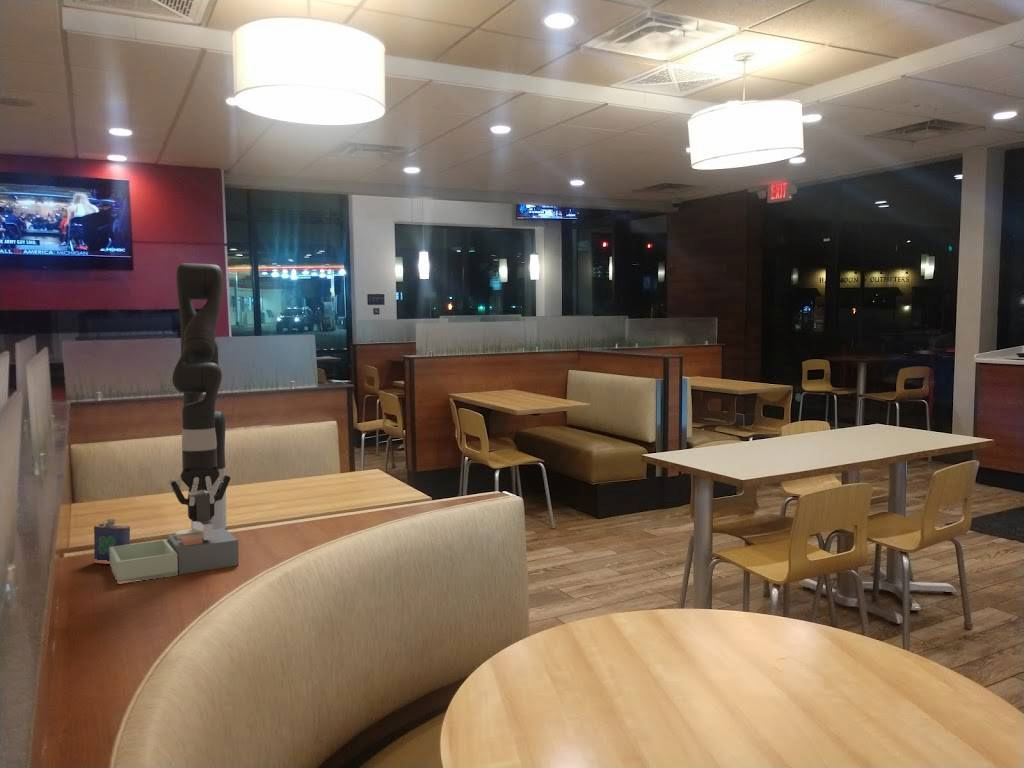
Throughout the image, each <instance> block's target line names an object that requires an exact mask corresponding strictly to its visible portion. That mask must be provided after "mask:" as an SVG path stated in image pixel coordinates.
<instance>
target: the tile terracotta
mask: <svg viewBox="0 0 1024 768" xmlns="http://www.w3.org/2000/svg"><path fill="white" fill-rule="evenodd" d="M180 538H181V543H182V544H183V545H184V546H187V545H194V544H201V543H203V538H202V537H201V536H200V535H192V536H184V537H180Z"/></svg>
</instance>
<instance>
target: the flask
mask: <svg viewBox="0 0 1024 768" xmlns="http://www.w3.org/2000/svg"><path fill="white" fill-rule="evenodd" d="M115 522H116V518H106V523H105V522H102V523H99V524H95V525H94V527H93V531H94V532H93V539H94V547H93V550H94V551H93V552H94V554H93V555H94V560H95V559H97V560H107V561H110V550H109V547H112V546H119V545H127V544H131V535H130V534H131V529H130V528H131V527H130V525H115Z"/></svg>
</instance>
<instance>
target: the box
mask: <svg viewBox="0 0 1024 768" xmlns="http://www.w3.org/2000/svg"><path fill="white" fill-rule="evenodd" d="M109 550H110V565H109V567H110V566H111V568H112V570H113V573H114V575H115V577H116V580H117V582H123V581H135V580H146V581H150V580H149V579H153V580H157V579H156V578H159V579H164V578H163V577H165V578H170V577H171V576H172V577H178V576H179V574H178V559H177V552H176V551H175V550H174V549H173V548H172V546H171V545H170V544H169V543H168V539H157V540H149V541H143V542H135V543H130V544H127V545H119V546H112V547H109ZM177 575H178V576H177ZM116 580H115V581H116ZM117 582H116V583H117Z"/></svg>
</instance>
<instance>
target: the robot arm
mask: <svg viewBox="0 0 1024 768" xmlns="http://www.w3.org/2000/svg"><path fill="white" fill-rule="evenodd" d="M175 274H176V277H175V278H176V289H177V290H176V291H177V300H178V309H179V317H180V319H179V320H180V357H179V359H178V361H177V363H176V365H175V367H174V370H173V372H172V378H171V380H172V384H173V387H174V388H175V389H176V391H178V392H179V393H183V406H182V411H181V415H182V434H181V456H182V458H181V459H182V460H181V461H182V471H181V473H180V476H179V477H178V478H176V479H171V480H169V482H168V483H169V486H170V488H171V489H172V491H173V493H174V495H175V497H176V498H177V500H178V502H179V503H180V504H181V505H186V506H187V517H188V519H189V520H190V525H191V527H190V529H193V522H194V521H196V506H195V505H194V504H195V496H196V494H203V493H206V494H208V495H210V520H208V521H210V522H211V523H212V524H213V529H220V528H225V529H227V527H228V526H227V488H228V487H229V483H230V481H231V476H229V475H227V474H226V451H225V448H226V417H225V414H224V413H223V411H220V410H215V409H216V408H215V407H216V402H217V397H218V393H219V390H220V386H221V383H222V379H223V378H222V377H223V375H222V369H221V367H219V366H220V365H219V346H218V343H217V341H216V331H217V330H216V329H217V323H218V319H219V314H220V311H221V304H222V300H223V293H224V292H223V291H224V274H223V270H222V268H221V267H220V266H219V265H217V264H213V263H211V264H210V263H193V262H192V263H191V262H190V263H187V262H183V263H180V264H179V265H178V266H177V269H176V273H175ZM192 300H196V301H197V300H199V301H200V300H201V301H204V300H207V301H206V302H205V304H204V305H203V306H202V307H201V308H200V310H199V311H197V312H196V309H195V306H194V303H193V301H192ZM204 393H205V396H204V398H203V399H201V397H202V396H203V394H204ZM182 482H183V483H184V484H185V486H186V487H187V488H188V489H187V490H188V491H187V498H186V497H185V496H184V495H183V492H182V490H181V488H182Z"/></svg>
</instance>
